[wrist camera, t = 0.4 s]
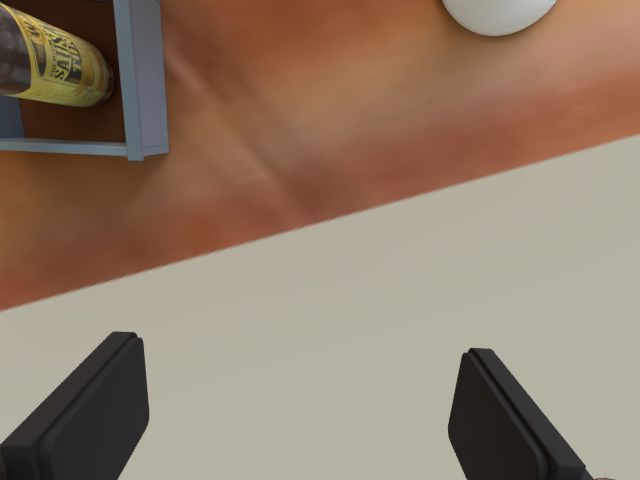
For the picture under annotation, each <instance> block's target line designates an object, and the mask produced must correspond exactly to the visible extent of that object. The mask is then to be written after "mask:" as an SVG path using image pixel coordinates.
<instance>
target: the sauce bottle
mask: <svg viewBox="0 0 640 480" xmlns="http://www.w3.org/2000/svg"><path fill="white" fill-rule="evenodd" d="M113 89H114V73H113V68H112V66H111V64H110V61H109V60H108V59H107V58H106V57H105V56H104V55H103V54H102V53H101V51H99V50H98V49H97V48H95V47H94V46H93V45H92V44H91V43H89V42H87V41H86V40H83V39H81V38H79V37H77V36H75V35H72V34H70V33H68V32H66V31H63V30H61V29H59V28H56V27H54V26H52V25H50V24H48V23H45V22H43V21H41V20H39V19H36V18H34V17H32V16H30V15H27V14H25V13H23V12H20V11H18V10H15V9H13V8H11V7H9V6H7V5H4V4H2V3H0V95H5V96H11V97H18V98H24V99H31V100H37V101H43V102H49V103H55V104H62V105H68V106H75V107H91V106H98V105H100V104H103V103H104V102H105V101H107V100H108V98H109V97H110V96H111V94H112V92H113Z"/></svg>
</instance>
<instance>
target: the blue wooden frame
mask: <svg viewBox="0 0 640 480" xmlns="http://www.w3.org/2000/svg"><path fill="white" fill-rule="evenodd" d="M94 1H109V2H113V4H114V15H115V26H116V37H117V48H118V59H119V70H120V81H121V92H122V102H123V113H124V124H125V135H126V143H119V142H99V141H80V140H61V139H42V138H25V133H24V127H23V121H22V115H21V109H20V103H19V98H18V97H11V96H5V95H0V150H10V151H29V152H49V153H69V154H88V155H108V156H127V157H128V161H144V156H150V155H157V154H164V153H169V140H168V124H167V108H166V91H165V75H164V58H163V42H162V25H161V9H160V0H94ZM0 3H2V4H3V0H0Z"/></svg>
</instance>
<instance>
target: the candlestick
mask: <svg viewBox="0 0 640 480" xmlns="http://www.w3.org/2000/svg"><path fill="white" fill-rule="evenodd" d="M556 1H557V0H442V2H443V4H444V6H445V7H446V9H447V10H448V12H449V13H450V15H451V16H452V17H453V18H454V19H455V20H456V21H457V22H458V23H459V24H460V25H462V26H463V27H465V28H466V29H468V30H470V31H472V32H475V33H478V34H481V35H487V36H502V35H508V34H511V33H514V32H517V31H520V30H522V29H524V28H526V27H528V26H530V25H531V24H533V23H534V22H536V21H537V20H538V19H540V18H541V17H542V16H543V15H544V14H545V13H546V12H547V11H548V10H549V9H550V8H551V7H552V6H553V5H554V3H555V2H556Z"/></svg>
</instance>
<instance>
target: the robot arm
mask: <svg viewBox="0 0 640 480" xmlns="http://www.w3.org/2000/svg"><path fill="white" fill-rule="evenodd" d="M148 421H149V404H148V393H147V381H146V369H145V358H144V346H143V340H142V338H138V337H137V334H136V333H134V332H112V333H111V334H110V335H109V336H108V337H107V338H106V339H105V340H104V341H103V342H102V343H101V344H100V345H99V346H98V347H97V348H96V349H95V350H94V351H93V352H92V353H91V354H90V355H89V356H88V357H87V358H86V359H85V360H84V361H83V362H82V363H81V364H80V365H79V366H78V367H77V368H76V369H75V370H74V371H73V372H72V373H71V374H70V375H69V376H68V377H67V378H66V379H65V380H64V381H63V382H62V383H61V384H60V385H59V386H58V387H57V388H56V389H55V390H54V391H53V392H52V393H51V394H50V395H49V396H48V397H47V398H46V399H45V400H44V401H43V402H42V403H41V404H40V405H39V406H38V407H37V408H36V409H35V410H34V411H33V412H32V413H31V414H30V415H29V416H28V417H27V418H26V420H24V421H23V422H22V424H20V425H19V426H18V427H17V428H16V429H15V430H14V431H13V432H12V433H11V434H10V435H9V436H8V437H7V438H6V439H5V440H4V441H3V442H2V443H1V444H0V480H118V478H119V476H120V474H121V472H122V471H123V469H124V467H125V465H126V463H127V461H128V460H129V458H130V456H131V455H132V453H133V451H134V449H135V447H136V446H137V444H138V442H139V440H140V439H141V437H142V435H143V433H144V431H145V430H146V427H147V425H148ZM448 435H449V439H450V442H451V444H452V447H453V449H454V451H455V453H456V456H457V458H458V460H459V462H460V465H461V467H462V469H463V472H464V474H465V476H466V479H467V480H614V479H609V478H596V479H593V478H592V477H591V475H590V474H589V473H588V471H587V470H586V469H585V467H586V466H585V464H584V463H583V462H582V461H581V459H580V458H579V457H578V456H577V454H575V452H574V451H573V450H572V448H571V447H570V446H569V445H568V443H567V442H566V441H565V440H564V438H563V437H562V436H561V435H560V433H559V432H558V431H557V430H556V429H555V427H554V426H553V425H552V423H551V422H550V421H549V420H548V418H547V417H546V416H545V415H544V413H543V412H542V411H541V410H540V409H539V407H538V406H537V405H536V404H535V402H534V401H533V400H532V399H531V397H530V396H529V395H528V394H527V393H526V391H525V390H524V389H523V387H522V386H521V385H520V384H519V383H518V381H517V380H516V379H515V378H514V376H513V375H512V374H511V372H510V371H509V370H508V369H507V368H506V366H505V365H504V364H503V363H502V361H501V360H500V359H499V358H498V356H497V355H496V354H495V353H494V351H493V350H491V349H482V348H470V349H469V350H468V353H463V355H462V359H461V364H460V369H459V373H458V378H457V383H456V389H455V394H454V399H453V404H452V409H451V414H450V419H449V424H448Z"/></svg>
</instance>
